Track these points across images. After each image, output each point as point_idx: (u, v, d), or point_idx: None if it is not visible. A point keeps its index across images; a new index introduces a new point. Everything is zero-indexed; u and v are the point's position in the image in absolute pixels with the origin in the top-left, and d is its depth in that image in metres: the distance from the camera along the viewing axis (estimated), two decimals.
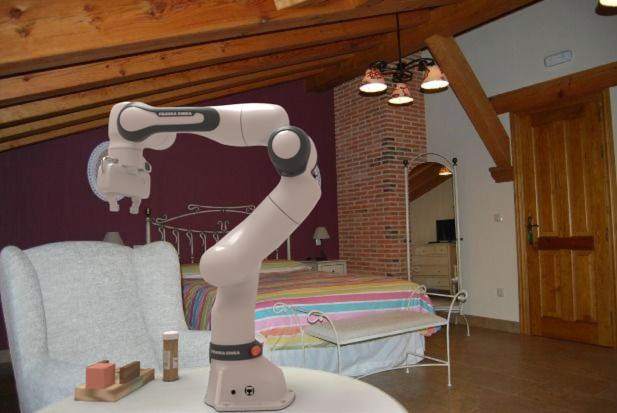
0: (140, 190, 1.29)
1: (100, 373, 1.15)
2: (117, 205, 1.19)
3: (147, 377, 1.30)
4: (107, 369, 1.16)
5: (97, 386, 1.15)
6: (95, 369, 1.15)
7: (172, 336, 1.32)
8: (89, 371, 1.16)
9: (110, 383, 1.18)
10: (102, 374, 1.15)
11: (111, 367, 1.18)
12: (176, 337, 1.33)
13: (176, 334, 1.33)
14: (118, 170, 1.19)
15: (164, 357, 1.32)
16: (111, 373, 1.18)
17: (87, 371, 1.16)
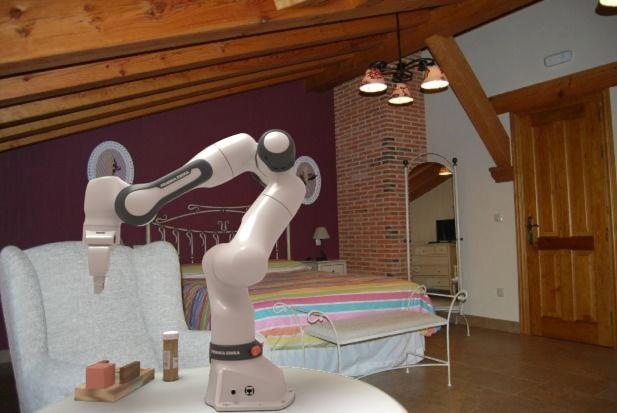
0: None
1: (100, 373, 1.15)
2: None
3: (147, 377, 1.30)
4: (107, 369, 1.16)
5: (97, 386, 1.15)
6: (95, 369, 1.15)
7: (172, 336, 1.32)
8: (89, 371, 1.16)
9: (110, 383, 1.18)
10: (102, 374, 1.15)
11: (111, 367, 1.18)
12: (176, 337, 1.33)
13: (176, 334, 1.33)
14: None
15: (164, 357, 1.32)
16: (111, 373, 1.18)
17: (87, 371, 1.16)
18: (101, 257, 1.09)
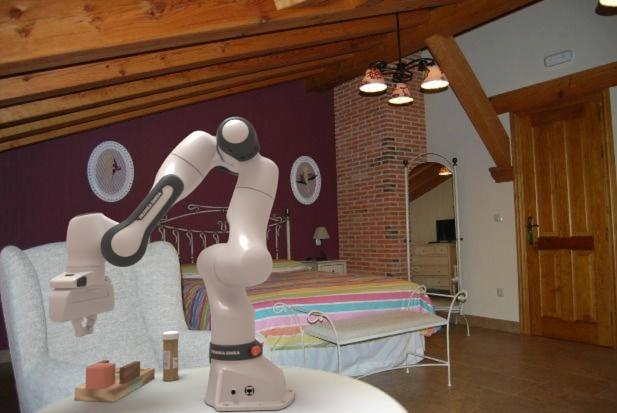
0: None
1: (100, 373, 1.15)
2: None
3: (147, 377, 1.30)
4: (107, 369, 1.16)
5: (97, 386, 1.15)
6: (95, 369, 1.15)
7: (172, 336, 1.32)
8: (89, 371, 1.16)
9: (110, 383, 1.18)
10: (102, 374, 1.15)
11: (111, 367, 1.18)
12: (176, 337, 1.33)
13: (176, 334, 1.33)
14: None
15: (164, 357, 1.32)
16: (111, 373, 1.18)
17: (87, 371, 1.16)
18: (59, 302, 1.03)
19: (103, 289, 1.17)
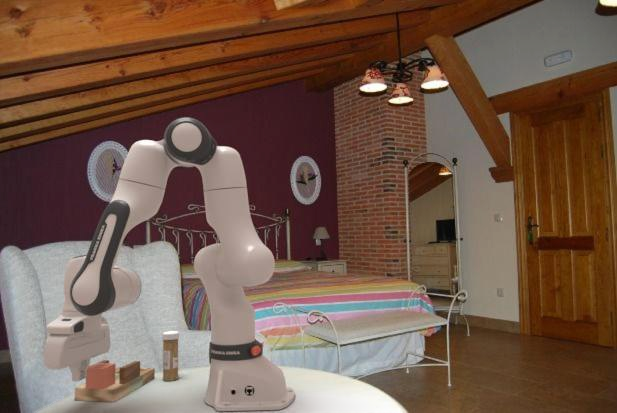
0: None
1: (100, 373, 1.15)
2: None
3: (147, 377, 1.30)
4: (107, 369, 1.16)
5: (97, 386, 1.15)
6: (95, 369, 1.15)
7: (172, 336, 1.32)
8: (89, 371, 1.16)
9: (110, 383, 1.18)
10: (102, 374, 1.15)
11: (111, 367, 1.18)
12: (176, 337, 1.33)
13: (176, 334, 1.33)
14: None
15: (164, 357, 1.32)
16: (111, 373, 1.18)
17: (87, 371, 1.16)
18: (55, 349, 1.01)
19: (99, 331, 1.15)
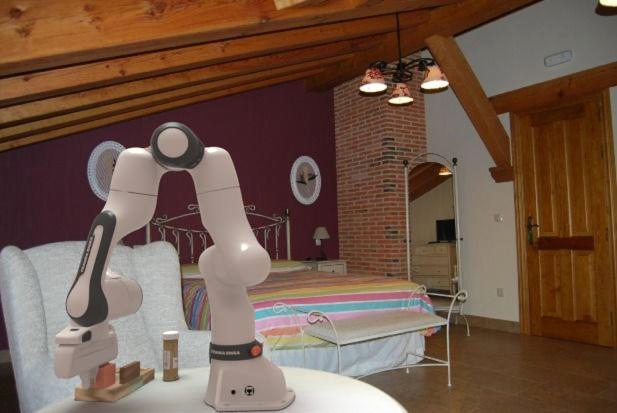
0: None
1: (100, 373, 1.15)
2: None
3: (147, 377, 1.30)
4: (107, 369, 1.16)
5: (97, 386, 1.15)
6: None
7: (172, 336, 1.32)
8: None
9: (110, 383, 1.18)
10: (103, 374, 1.15)
11: (111, 367, 1.18)
12: (176, 337, 1.33)
13: (176, 334, 1.33)
14: None
15: (164, 357, 1.32)
16: (111, 373, 1.18)
17: None
18: (65, 359, 1.04)
19: (107, 339, 1.18)
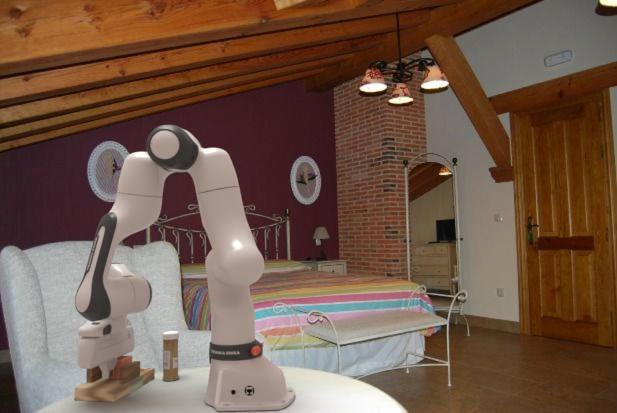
0: None
1: (118, 364, 1.23)
2: None
3: (147, 377, 1.30)
4: (124, 361, 1.24)
5: (116, 376, 1.23)
6: None
7: (172, 336, 1.32)
8: None
9: None
10: (121, 365, 1.23)
11: (128, 359, 1.26)
12: (176, 337, 1.33)
13: (176, 334, 1.33)
14: None
15: (164, 357, 1.32)
16: None
17: None
18: (87, 350, 1.12)
19: (125, 333, 1.26)
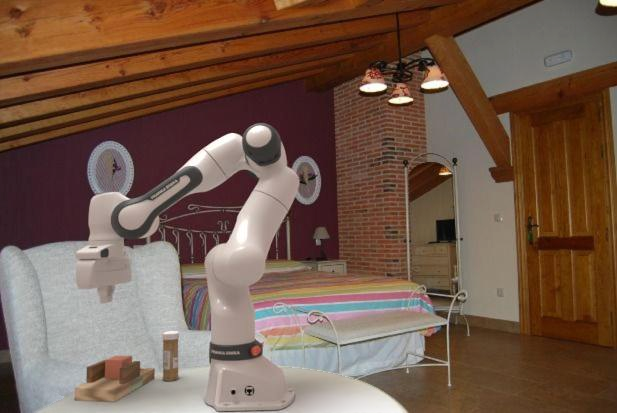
0: None
1: (118, 364, 1.23)
2: None
3: (147, 377, 1.30)
4: (124, 361, 1.24)
5: (116, 377, 1.23)
6: (114, 361, 1.24)
7: (172, 336, 1.32)
8: (108, 363, 1.24)
9: None
10: (121, 366, 1.23)
11: (128, 359, 1.26)
12: (176, 337, 1.33)
13: (176, 334, 1.33)
14: None
15: (164, 357, 1.32)
16: None
17: (106, 363, 1.24)
18: (85, 271, 1.14)
19: (122, 262, 1.28)
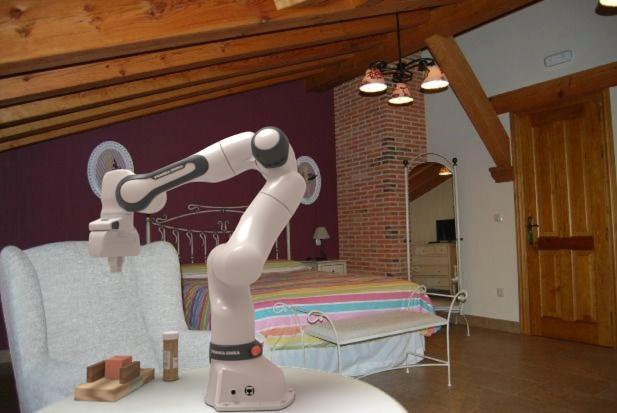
0: None
1: (118, 364, 1.23)
2: None
3: (147, 377, 1.30)
4: (124, 361, 1.24)
5: (116, 377, 1.23)
6: (114, 361, 1.24)
7: (172, 336, 1.32)
8: (108, 363, 1.24)
9: None
10: (121, 366, 1.23)
11: (128, 359, 1.26)
12: (176, 337, 1.33)
13: (176, 334, 1.33)
14: None
15: (164, 357, 1.32)
16: None
17: (106, 363, 1.24)
18: (97, 241, 1.23)
19: (131, 236, 1.37)
